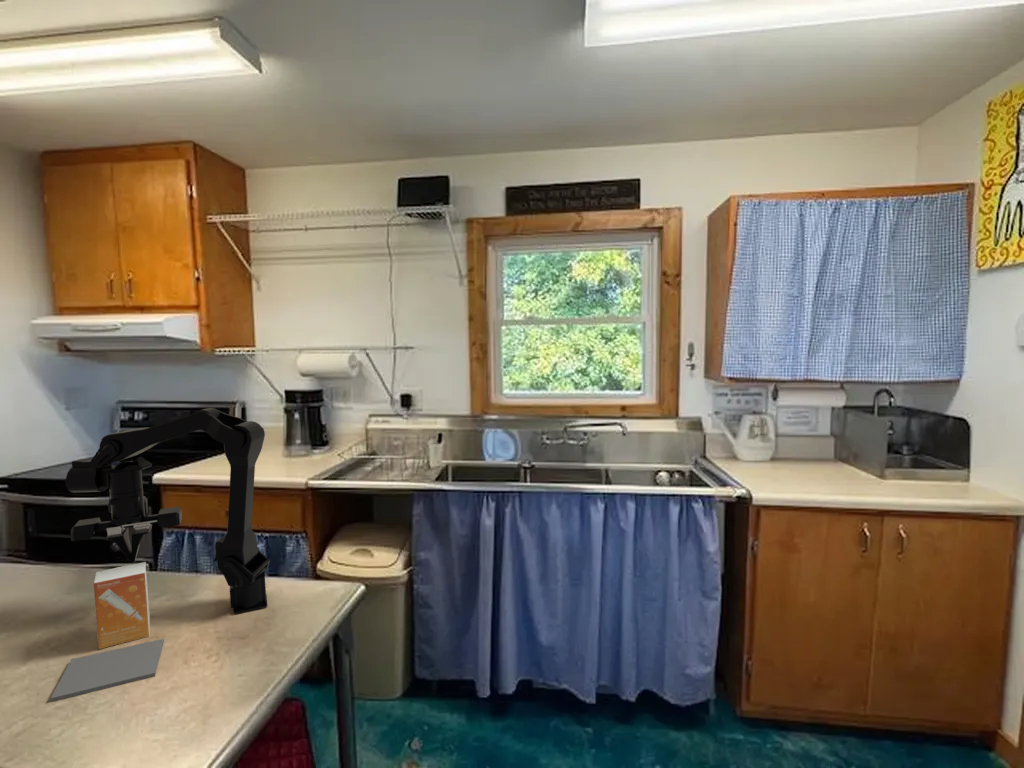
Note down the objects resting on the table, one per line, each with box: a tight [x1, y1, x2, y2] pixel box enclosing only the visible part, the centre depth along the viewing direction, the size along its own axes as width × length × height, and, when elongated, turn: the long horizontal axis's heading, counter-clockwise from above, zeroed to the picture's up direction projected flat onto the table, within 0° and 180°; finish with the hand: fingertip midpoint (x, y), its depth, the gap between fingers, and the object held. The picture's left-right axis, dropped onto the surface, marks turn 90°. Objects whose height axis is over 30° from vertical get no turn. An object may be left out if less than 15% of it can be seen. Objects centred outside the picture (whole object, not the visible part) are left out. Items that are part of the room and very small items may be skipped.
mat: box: [50, 638, 165, 703], centre depth 95 cm, size 14×12×1 cm
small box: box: [93, 561, 151, 650], centre depth 105 cm, size 8×6×13 cm
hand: (132, 562), depth 115 cm, fingers closed
